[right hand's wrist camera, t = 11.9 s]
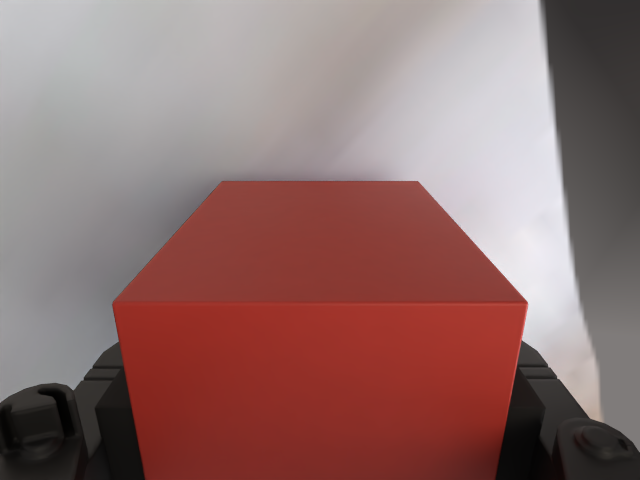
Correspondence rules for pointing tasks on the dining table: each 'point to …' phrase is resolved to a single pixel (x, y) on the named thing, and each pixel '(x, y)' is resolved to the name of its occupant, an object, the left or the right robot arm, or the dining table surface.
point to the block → (320, 339)
